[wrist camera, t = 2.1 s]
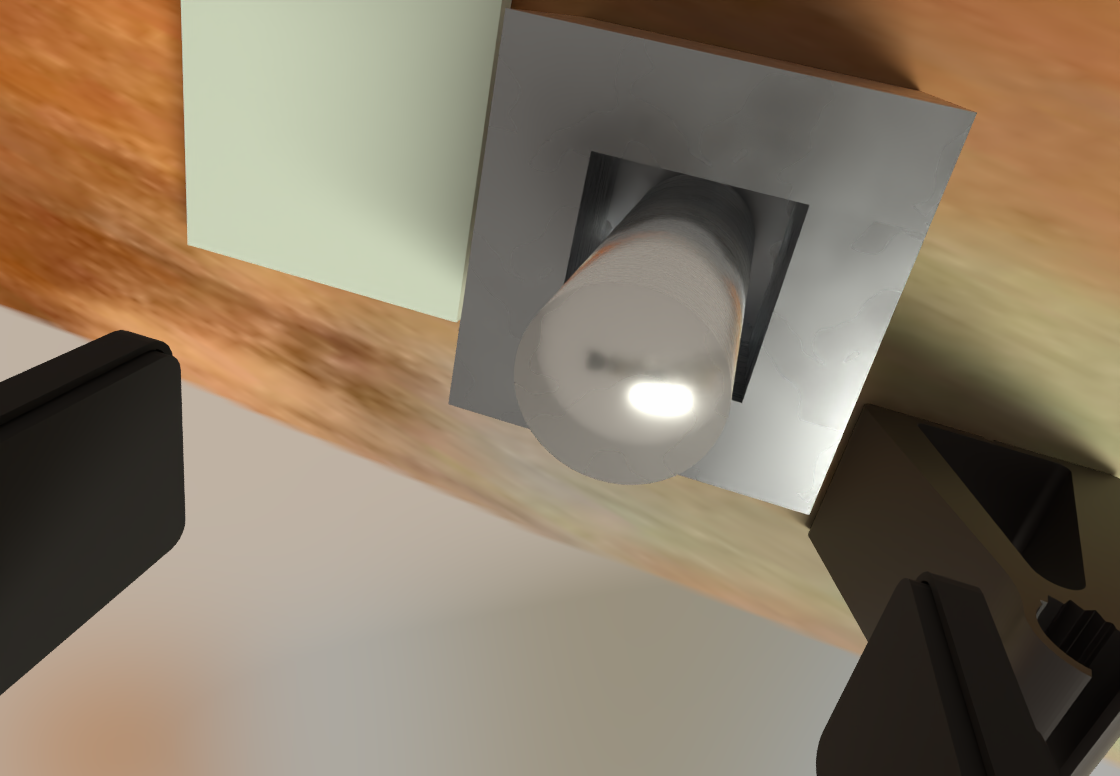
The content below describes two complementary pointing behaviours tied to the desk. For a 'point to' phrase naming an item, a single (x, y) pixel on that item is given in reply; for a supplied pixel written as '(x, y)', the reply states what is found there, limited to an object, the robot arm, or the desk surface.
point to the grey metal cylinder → (643, 338)
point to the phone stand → (990, 559)
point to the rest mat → (341, 139)
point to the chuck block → (722, 156)
